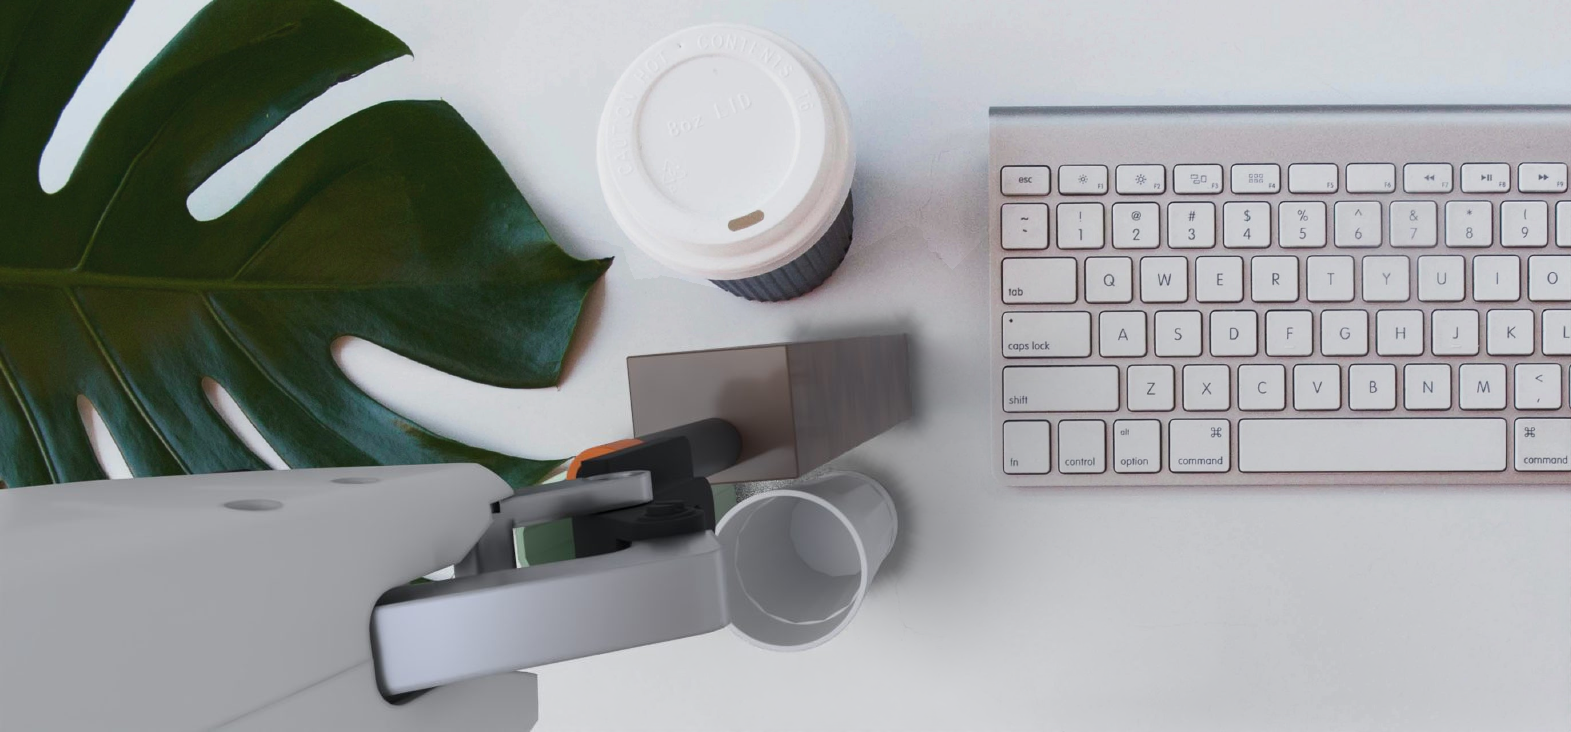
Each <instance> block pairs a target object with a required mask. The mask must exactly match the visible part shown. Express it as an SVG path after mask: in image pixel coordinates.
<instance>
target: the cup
mask: <svg viewBox="0 0 1571 732" xmlns="http://www.w3.org/2000/svg"><path fill="white" fill-rule="evenodd" d="M898 519H899V518H898V513H897V509H896V506H895V504H894V501H893V499H892V497H891V496H890V494H889V492H888V491H887V490H886V489H885V488H884V486H882V485H881V484H880V483H879V482H878V481H876V480H875V479H874V478H872V477H870V476H868V475H866V474H865V473H861V472H858V471H853V470H835V471H830V472H828V473H824V474H822V475H819V476H818V477H815V478H812V479H808V480H804V481H801V482H797V483H794V484H791V485H787V486H782V487H778V488H774V489H770V490H766V491H761V492H759V493H756V494H753V495H751V496H748V497H747V498H745V499H743V500H741V501H740V502H737V505H736V506H734V507H733V508H732V509H731V510H730V511H728V512H727V513H726V515H725V516H724V517H723V518H722V519H721V520H720V522H719V523H718V524H717V526H716V530H715V535H716V536H717V537H718V538H719V539H720V540H721V542H722V543H723V544H724V552H725V563H726V573H727V583H728V594H729V604H730V615H731V623H730V624H729V625H728V626H726V628H727V629H728V630H729V631H731V632H732V633H733V634H734V635H735V636H737V637H738V638H739V639H741V640H742V641H744V642H746V643H748V644H749V645H752V646H754V647H757V648H760V649H762V650H766V651H771V652H775V653H776V652H778V653H797V652H803V651H807V650H811V649H814V648H817V647H819V646H821V645H823V644H825V643H828V642H829V641H831V640H832V639H834V638H836V637H837V636H838V635H839V634H840V633H841V632H843V630H845V629H846V628H847V626H849V624H850V623H851V622H852V621H853V619H854V618H855V616H856V615H857V613H858V612H859V609H860V608H861V605H862V603H863V601H864V599H865V597H866V595H867V593H868V590H869V588H870V587H871V583H872V582H873V580H874V577H875V576H876V574H877V572H878V570H879V568H880V567H881V565H882V563H883V561H884V560H885V559H886V558H887V556H888V555H889V554H890V552H891V550H892V549H893V547H894V545H895V542H896V538H897V535H898V528H899V521H898Z"/></svg>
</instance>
